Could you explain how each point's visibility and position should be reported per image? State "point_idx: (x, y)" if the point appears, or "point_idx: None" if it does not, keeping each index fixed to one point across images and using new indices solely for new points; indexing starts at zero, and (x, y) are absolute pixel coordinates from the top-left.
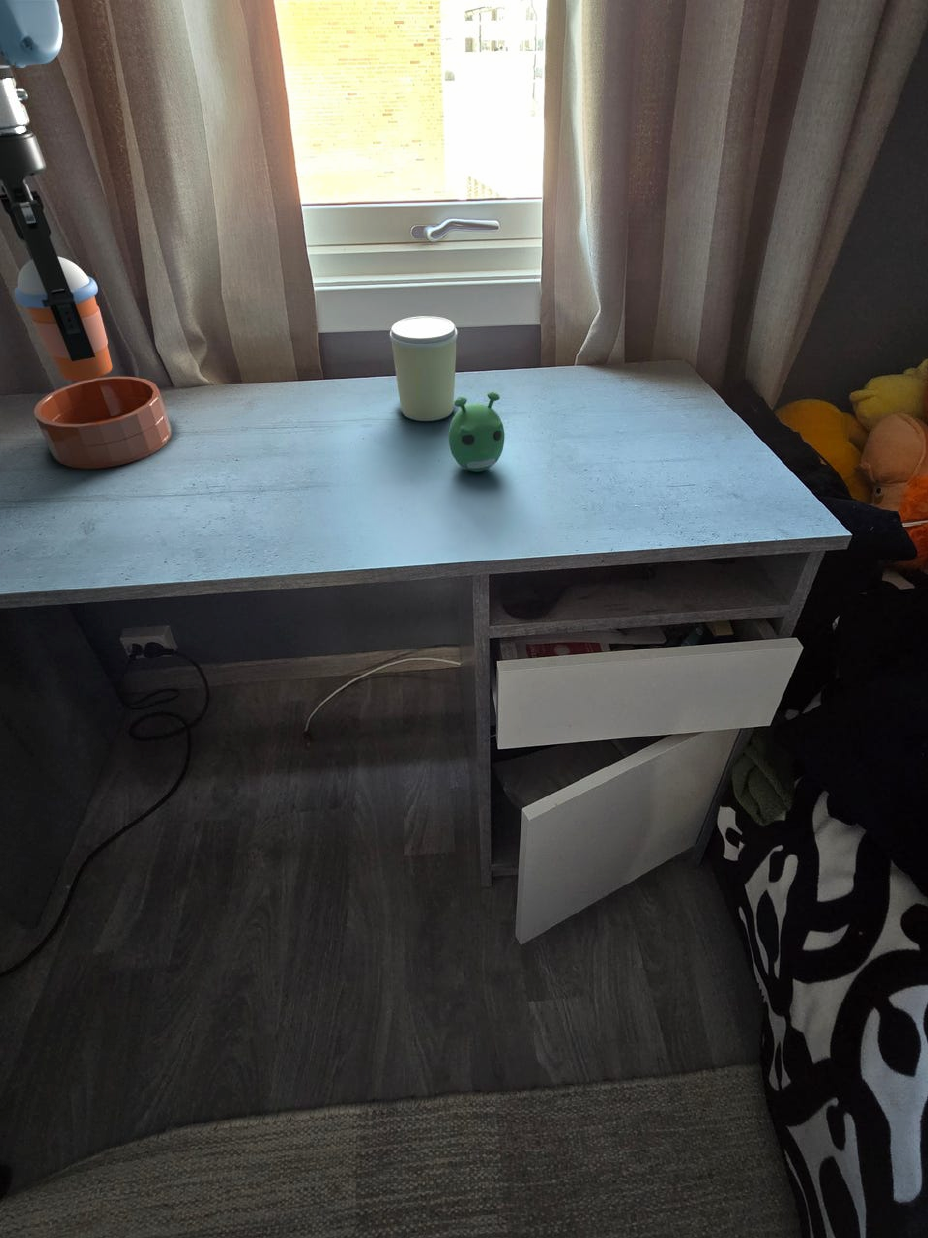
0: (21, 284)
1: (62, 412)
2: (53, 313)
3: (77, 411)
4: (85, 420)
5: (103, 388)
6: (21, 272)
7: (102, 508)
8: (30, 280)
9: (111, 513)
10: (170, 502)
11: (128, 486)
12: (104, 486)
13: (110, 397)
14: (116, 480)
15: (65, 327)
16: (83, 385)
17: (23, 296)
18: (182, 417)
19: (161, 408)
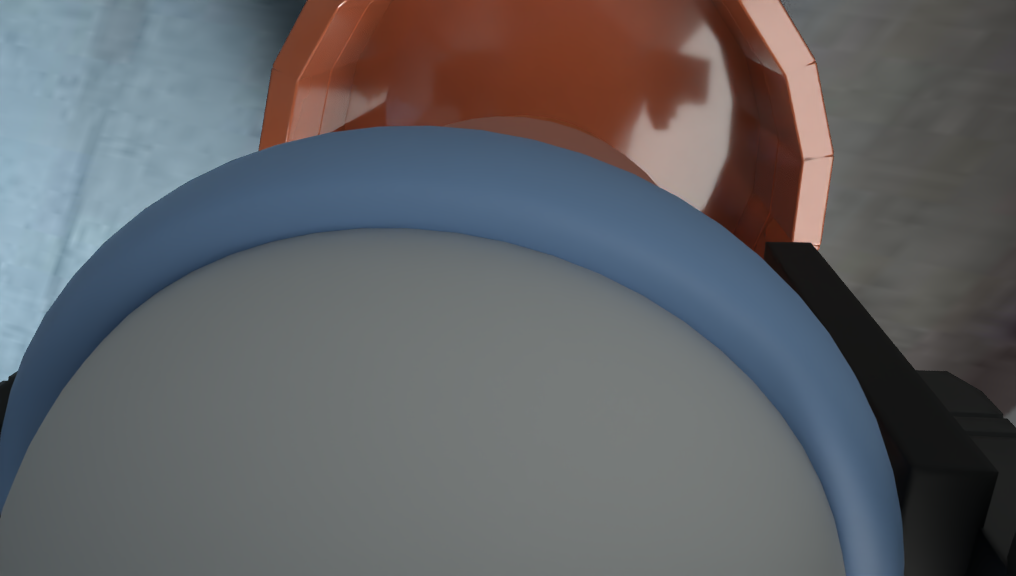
0: (181, 335)
1: (726, 8)
2: (9, 384)
3: (759, 73)
4: (754, 85)
5: (776, 237)
6: (233, 491)
7: (51, 28)
8: (19, 497)
9: (11, 51)
10: (27, 226)
11: (169, 134)
12: (199, 59)
13: (759, 237)
14: (226, 105)
15: (16, 372)
16: (796, 165)
17: (120, 247)
18: None
19: None
